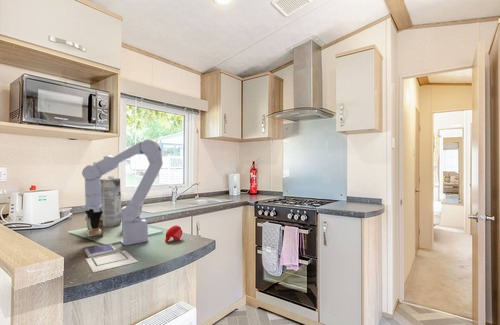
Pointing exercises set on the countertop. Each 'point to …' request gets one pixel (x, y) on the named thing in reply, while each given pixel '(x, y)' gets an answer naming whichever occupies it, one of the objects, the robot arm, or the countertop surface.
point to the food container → (99, 224)
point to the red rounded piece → (174, 233)
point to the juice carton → (111, 201)
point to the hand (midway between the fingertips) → (94, 227)
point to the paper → (110, 261)
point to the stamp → (93, 231)
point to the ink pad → (100, 250)
